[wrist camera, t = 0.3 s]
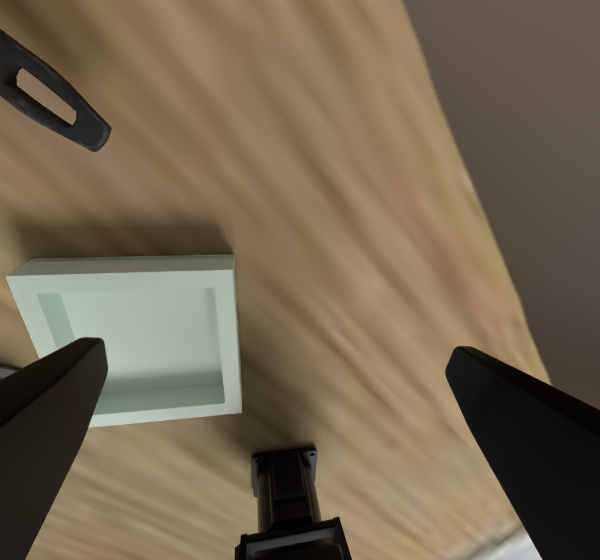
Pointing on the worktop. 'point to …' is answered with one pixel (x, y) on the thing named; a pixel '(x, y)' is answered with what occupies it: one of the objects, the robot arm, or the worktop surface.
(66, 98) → the frying pan
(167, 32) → the worktop surface
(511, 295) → the worktop surface
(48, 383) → the robot arm
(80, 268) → the tray
